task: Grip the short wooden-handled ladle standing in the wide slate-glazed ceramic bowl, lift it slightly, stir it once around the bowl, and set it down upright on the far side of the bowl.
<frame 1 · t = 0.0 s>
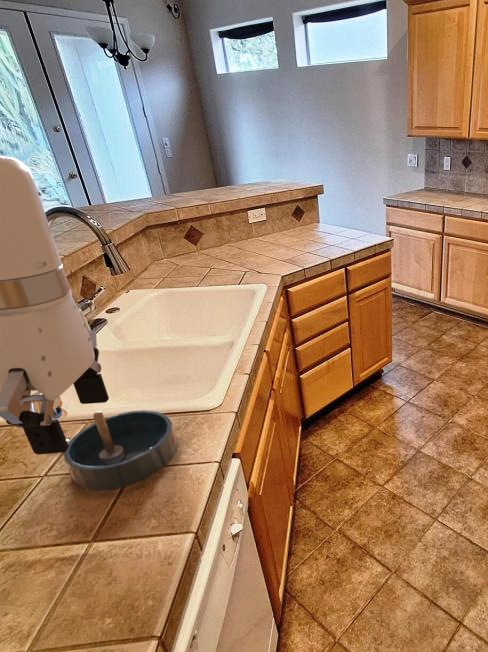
hand: (75, 424, 51), 26 cm above the counter, tool pointing down, fingers open, 9 cm apart
bowl: (127, 459, 84), on the counter
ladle: (113, 458, 83), point 1 cm above the counter, touching bowl
wineglass: (64, 445, 88), on the counter
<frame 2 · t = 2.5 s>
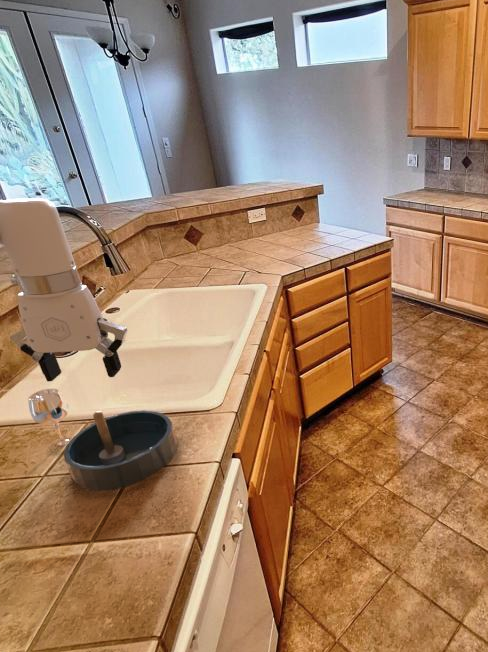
hand: (85, 375, 75), 20 cm above the counter, tool pointing down, fingers open, 9 cm apart
nothing on the counter moved.
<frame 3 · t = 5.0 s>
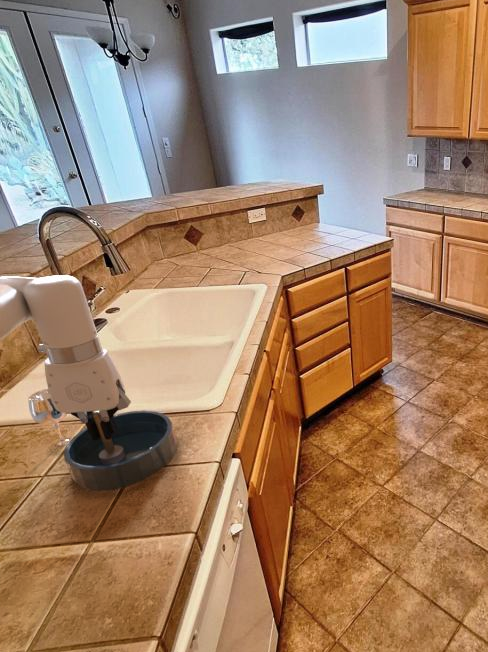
hand: (105, 435, 81), 6 cm above the counter, tool pointing down, fingers closed on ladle
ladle: (113, 458, 83), point 1 cm above the counter, touching bowl, gripper
everything else where it was.
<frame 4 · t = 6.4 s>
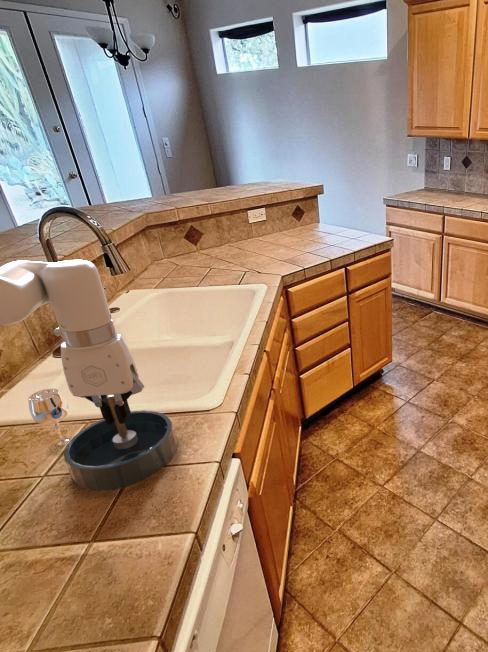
hand: (118, 419, 82), 8 cm above the counter, tool pointing down, fingers closed on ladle
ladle: (126, 442, 85), point 3 cm above the counter, touching gripper
everything else where it was.
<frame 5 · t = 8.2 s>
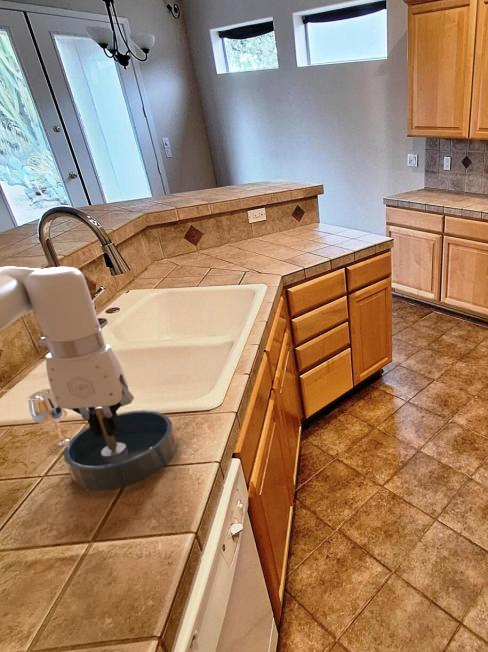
hand: (107, 431, 79), 8 cm above the counter, tool pointing down, fingers closed on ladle
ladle: (115, 455, 81), point 2 cm above the counter, touching gripper
everything else where it was.
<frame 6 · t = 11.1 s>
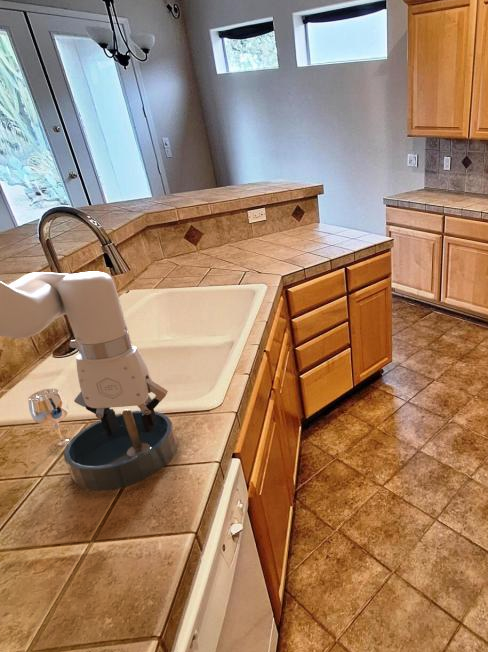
hand: (132, 428, 81), 7 cm above the counter, tool pointing down, fingers open, 5 cm apart
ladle: (140, 455, 84), point 1 cm above the counter, touching bowl
everything else where it was.
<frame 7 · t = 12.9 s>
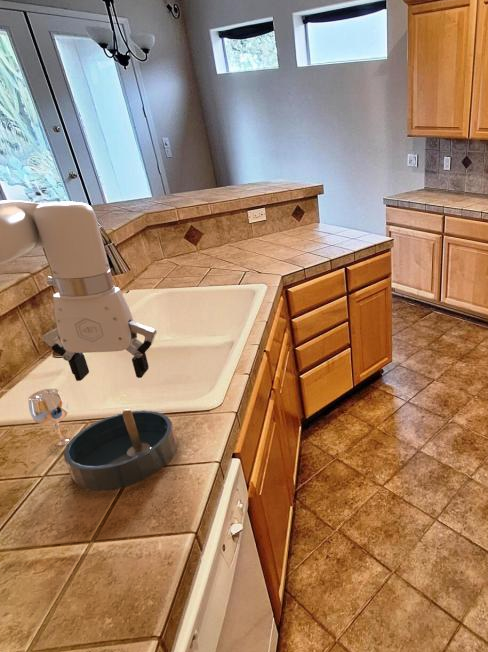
hand: (113, 375, 76), 19 cm above the counter, tool pointing down, fingers open, 9 cm apart
nothing on the counter moved.
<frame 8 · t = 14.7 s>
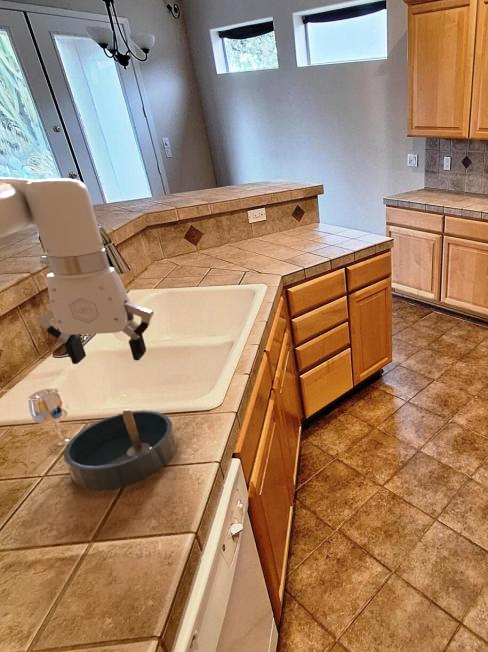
hand: (110, 358, 75), 22 cm above the counter, tool pointing down, fingers open, 9 cm apart
nothing on the counter moved.
at the end: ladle inside the target area in the bowl (2.4 cm from its centre), point 0.6 cm above the bowl's base; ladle moved 4.9 cm from its start; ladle tilted 0° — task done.
